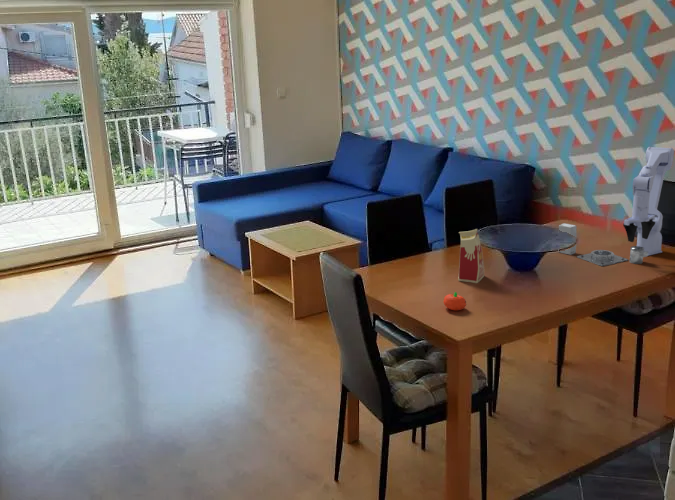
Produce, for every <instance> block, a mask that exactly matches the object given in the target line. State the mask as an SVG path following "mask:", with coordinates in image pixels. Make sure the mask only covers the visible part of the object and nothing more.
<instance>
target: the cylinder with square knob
mask: <svg viewBox="0 0 675 500" xmlns="http://www.w3.org/2000/svg"><path fill="white" fill-rule="evenodd" d="M647 255H648V251H645V250H644V248H643V247H640V246H637V245H633V246H630V253H629V263H630V264H633V265H641V264H643V262H644V261H643V259H644V258H647V257H648V256H649V255H648V256H647Z"/></svg>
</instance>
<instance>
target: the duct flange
mask: <svg viewBox="0 0 675 500" xmlns="http://www.w3.org/2000/svg"><path fill="white" fill-rule="evenodd" d="M576 258H577V259H581V260H583V261H586V262H589V263H592V264H595V265H597V266H600V267H605V266H610V265H615V264H619V263H623V262H628V261H629V259H628V258H626V257H622V256H620V255H617V254H615V253H614V252H613V251H610V250H608V249H607V250H605V249H595V250H591V252H590V253H585V254H581V255H576Z"/></svg>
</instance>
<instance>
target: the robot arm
mask: <svg viewBox="0 0 675 500" xmlns="http://www.w3.org/2000/svg"><path fill="white" fill-rule="evenodd" d="M674 155H675V150H674V148H673V147H656V146H648V147H647V148H646V150H645V162H646V165H644V166H643V167H642V168H641V170H640V171H639V174H638V175H637V176H636V177H634V178H633V180H632V195H633V200H632V201H633V202H632V213H631V214H632V215H631V216H630V217H628V218H626V219H624V220H623V228H624V230H625V232H626V235H627V242H630V243H634V242H635V236H636V233H637V238H636V240H637V241H636V246H640V247H643V248H644V250H645V251H648V255H647V257H648V256H652V255H657V254H661V253H663V250H662V243H663V236H662V233H661V230H662V227H663V218H664V216H663V214H662V212H661V211H659V210H658V206H659V202H660V198H661V192H662V187H663V184H664V178H665V175H666V173H667V171H670V170H671V169H672V166H673V161H674Z"/></svg>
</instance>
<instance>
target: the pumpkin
mask: <svg viewBox="0 0 675 500" xmlns="http://www.w3.org/2000/svg"><path fill="white" fill-rule="evenodd" d="M443 304H444V306H445V307H446V309H448V310H450V311H461V310H464V309H465V308H466V307H467V301H466V298H464V297H463V296H462V295H459V294H458V292H456V291H454V294H452V293H448V294H446V295H445V296H444V298H443Z"/></svg>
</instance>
